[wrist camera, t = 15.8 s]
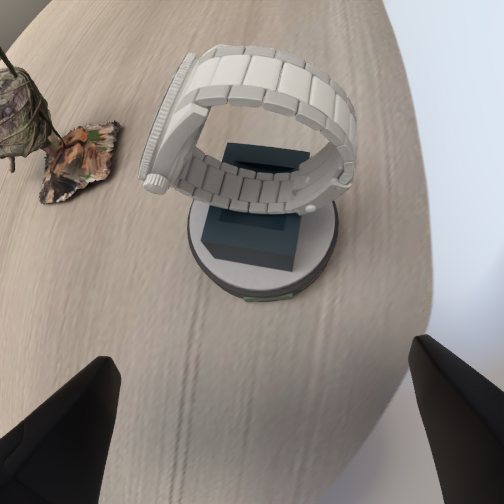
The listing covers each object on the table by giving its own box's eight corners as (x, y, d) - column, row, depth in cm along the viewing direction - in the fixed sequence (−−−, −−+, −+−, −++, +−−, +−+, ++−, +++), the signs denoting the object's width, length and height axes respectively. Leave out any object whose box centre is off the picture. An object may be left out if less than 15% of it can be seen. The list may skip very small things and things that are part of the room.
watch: (205, 168, 20) (142, 25, 9) (336, 186, 18) (373, 32, 8) (181, 254, 18) (69, 146, 8) (324, 279, 17) (379, 175, 6)
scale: (342, 294, 19) (350, 287, 17) (197, 306, 20) (184, 300, 17) (323, 165, 22) (326, 144, 19) (195, 178, 22) (185, 159, 20)
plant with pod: (44, 133, 26) (-69, 7, 7) (135, 122, 25) (20, -69, 6) (16, 206, 24) (-133, 94, 5) (106, 208, 23) (-85, 21, 4)
